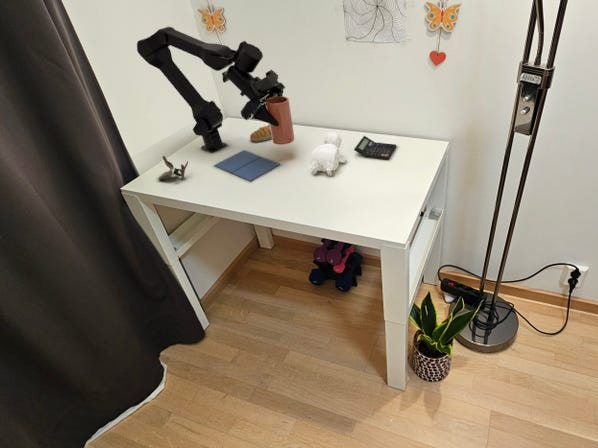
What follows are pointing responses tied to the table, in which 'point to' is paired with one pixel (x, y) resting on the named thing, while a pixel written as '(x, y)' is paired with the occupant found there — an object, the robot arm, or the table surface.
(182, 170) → the eagle figurine
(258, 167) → the napkin
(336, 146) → the white lumpy rounded figurine
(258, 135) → the pastry
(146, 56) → the robot arm
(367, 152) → the calculator
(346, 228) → the table surface
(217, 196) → the table surface
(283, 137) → the pencil cup
